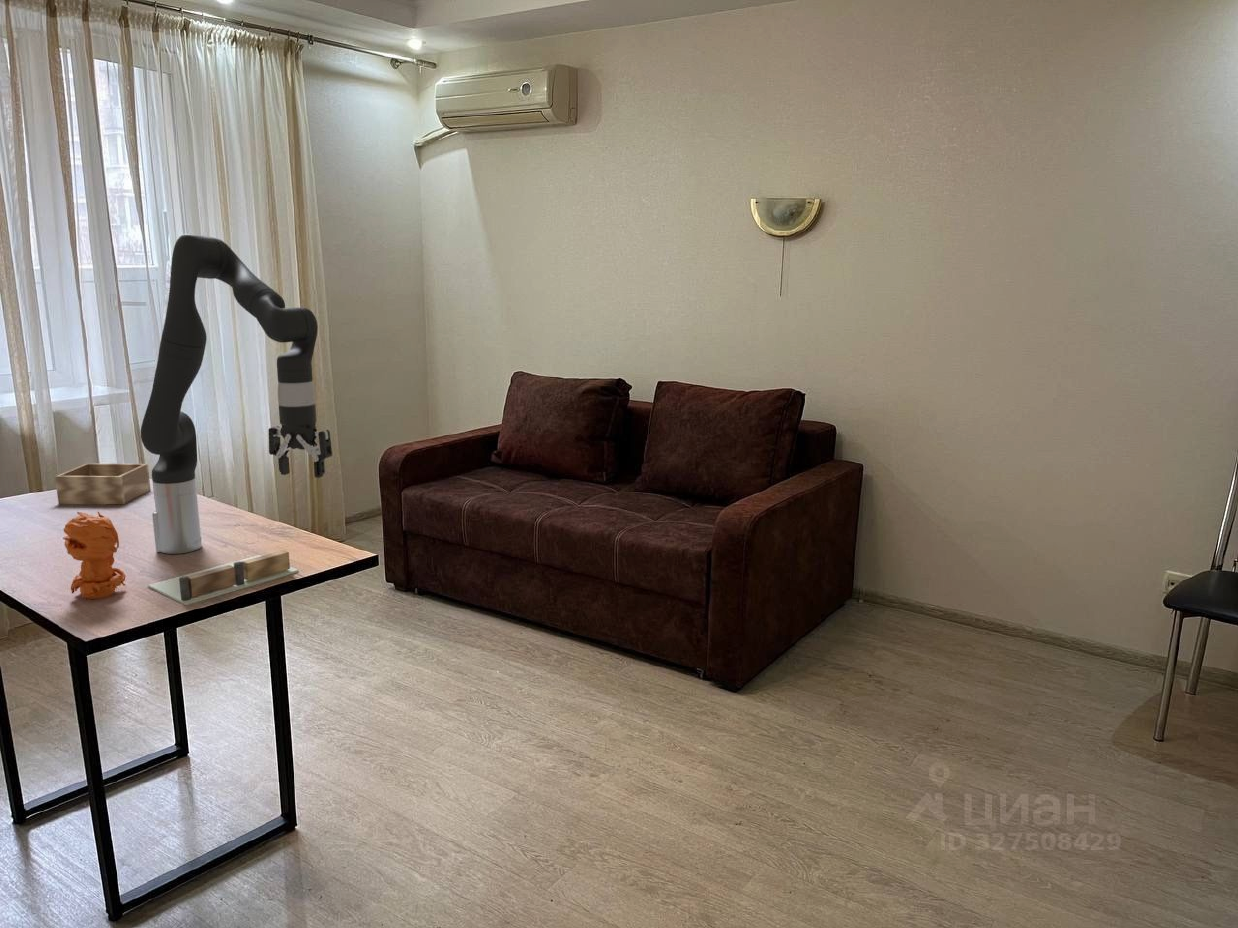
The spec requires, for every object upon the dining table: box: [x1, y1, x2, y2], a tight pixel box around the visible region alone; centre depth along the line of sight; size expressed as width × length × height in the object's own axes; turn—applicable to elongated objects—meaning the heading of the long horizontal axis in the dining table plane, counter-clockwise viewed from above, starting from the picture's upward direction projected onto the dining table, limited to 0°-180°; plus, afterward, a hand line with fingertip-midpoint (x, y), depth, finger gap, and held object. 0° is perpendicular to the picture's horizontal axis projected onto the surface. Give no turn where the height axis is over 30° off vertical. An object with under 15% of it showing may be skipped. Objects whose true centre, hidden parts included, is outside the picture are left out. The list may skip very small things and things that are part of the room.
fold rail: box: [242, 549, 291, 581], centre depth 204 cm, size 10×2×4 cm, turn 142°
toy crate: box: [54, 462, 152, 505], centre depth 266 cm, size 18×16×8 cm
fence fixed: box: [179, 560, 244, 601], centre depth 194 cm, size 14×2×5 cm, turn 142°
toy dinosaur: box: [62, 511, 126, 600], centre depth 192 cm, size 11×11×18 cm
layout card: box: [147, 554, 300, 606], centre depth 203 cm, size 26×16×1 cm, turn 142°
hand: (302, 475), depth 202 cm, fingers open, 8 cm apart
